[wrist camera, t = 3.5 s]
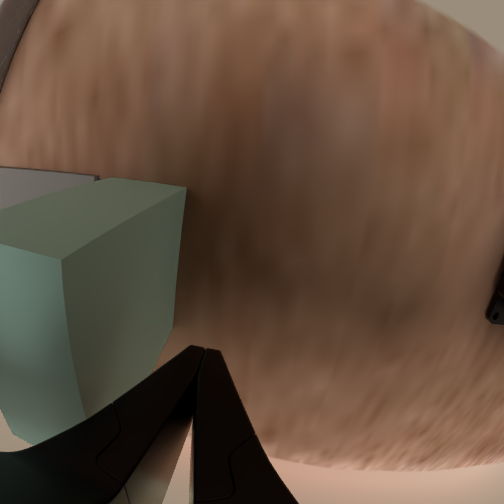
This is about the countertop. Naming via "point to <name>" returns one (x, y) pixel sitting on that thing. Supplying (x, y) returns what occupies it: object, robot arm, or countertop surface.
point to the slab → (84, 299)
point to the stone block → (12, 29)
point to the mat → (35, 183)
